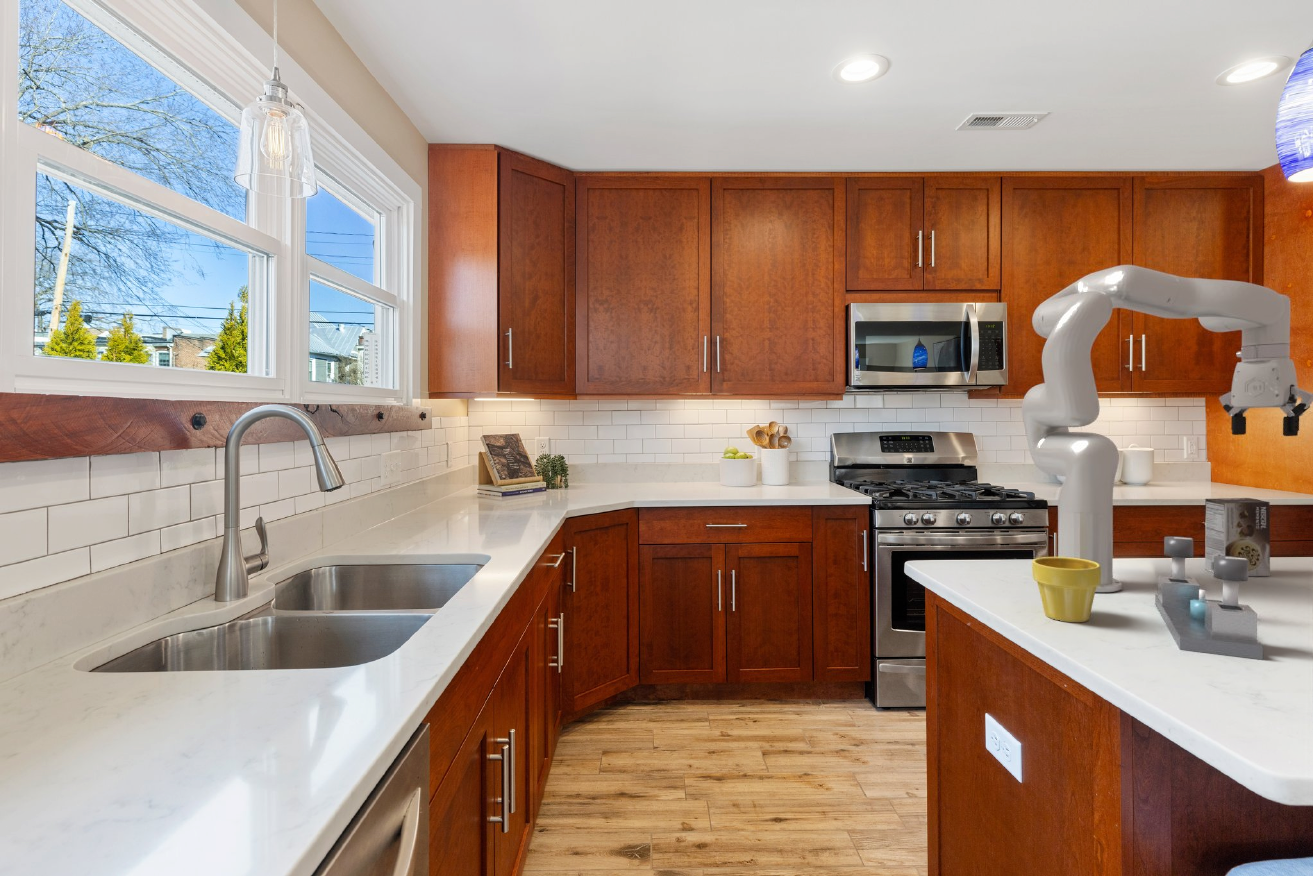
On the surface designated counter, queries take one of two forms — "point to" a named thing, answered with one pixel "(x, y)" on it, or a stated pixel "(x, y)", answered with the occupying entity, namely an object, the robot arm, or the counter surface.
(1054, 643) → the counter surface
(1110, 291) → the robot arm
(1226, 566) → the knob near
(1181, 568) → the knob far
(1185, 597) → the mount
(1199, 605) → the potentiometer
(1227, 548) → the coffee box
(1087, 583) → the plant pot
